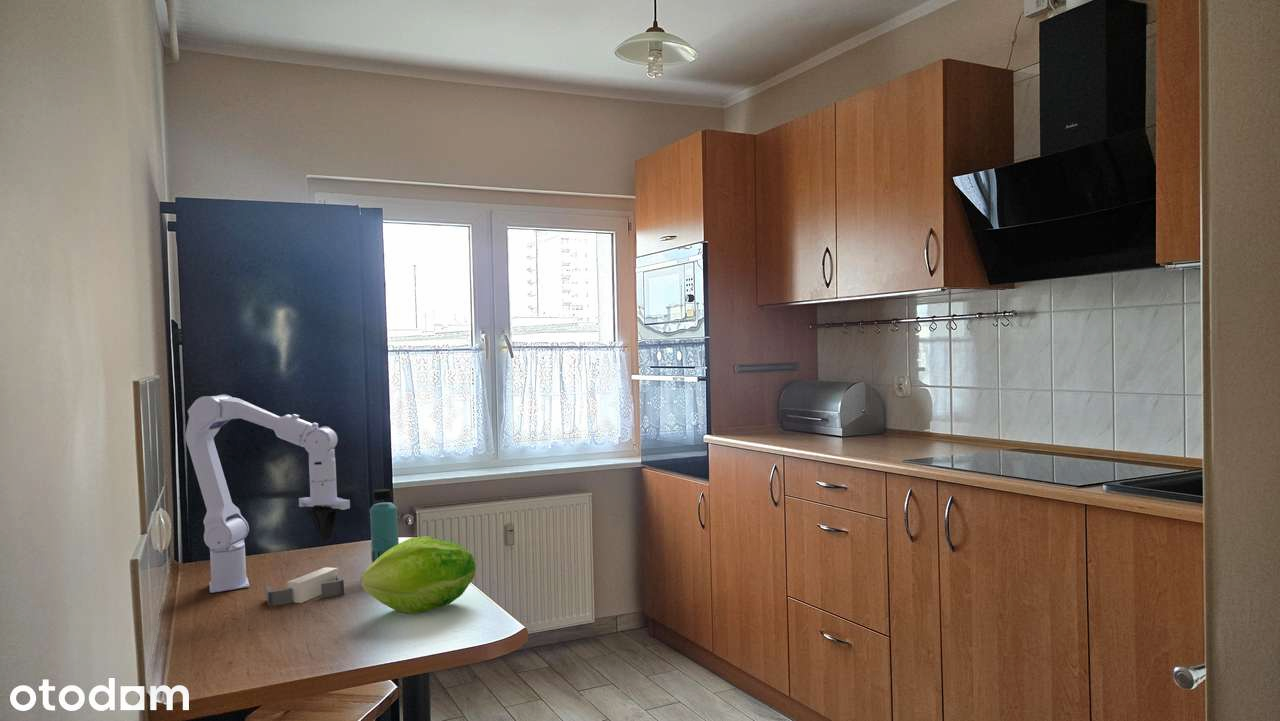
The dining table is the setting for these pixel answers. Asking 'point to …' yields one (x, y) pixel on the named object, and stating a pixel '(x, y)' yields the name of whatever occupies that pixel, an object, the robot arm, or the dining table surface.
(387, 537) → the beverage bottle
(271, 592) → the end cap
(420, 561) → the green papaya
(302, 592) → the cream rectangular block
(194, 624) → the dining table surface
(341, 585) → the end cap
